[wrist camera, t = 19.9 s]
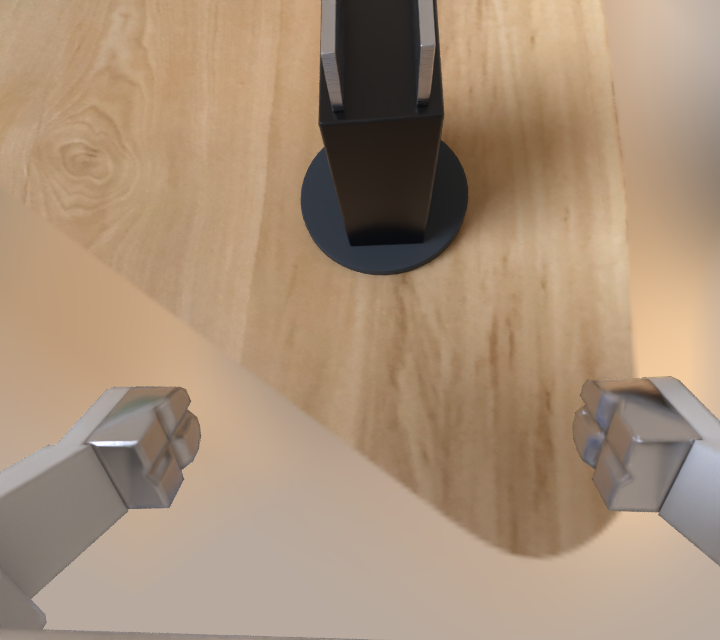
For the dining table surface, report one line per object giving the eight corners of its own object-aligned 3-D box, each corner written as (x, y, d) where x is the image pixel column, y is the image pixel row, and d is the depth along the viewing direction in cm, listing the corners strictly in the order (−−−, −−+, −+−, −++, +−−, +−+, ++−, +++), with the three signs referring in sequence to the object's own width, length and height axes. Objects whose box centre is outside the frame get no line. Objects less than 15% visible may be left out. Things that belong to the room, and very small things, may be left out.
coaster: (461, 282, 16) (463, 277, 16) (291, 268, 17) (288, 264, 16) (470, 132, 18) (472, 124, 17) (315, 126, 19) (313, 118, 18)
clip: (424, 244, 16) (454, 54, 8) (349, 247, 16) (303, 66, 8) (419, 137, 17) (440, -125, 9) (349, 141, 18) (309, -110, 9)
